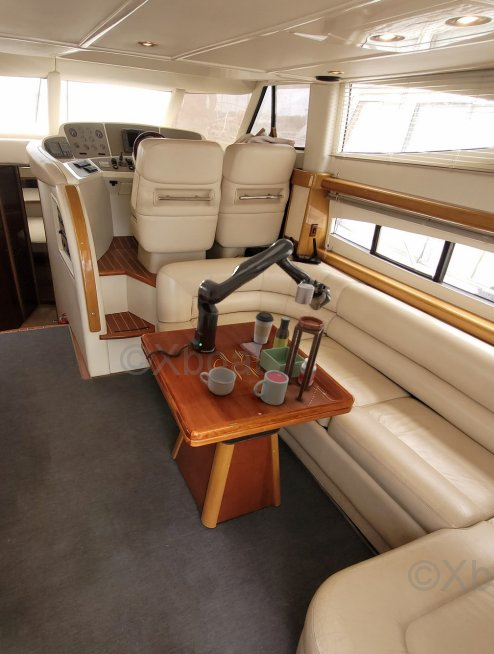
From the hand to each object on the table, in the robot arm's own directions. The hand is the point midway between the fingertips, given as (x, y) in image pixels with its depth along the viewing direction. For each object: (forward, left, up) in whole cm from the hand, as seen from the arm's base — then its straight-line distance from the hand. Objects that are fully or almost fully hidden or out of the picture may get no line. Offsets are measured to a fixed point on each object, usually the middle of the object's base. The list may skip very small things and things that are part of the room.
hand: (312, 281), depth 159 cm
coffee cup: (-1, +26, -40) cm, 48 cm away
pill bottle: (-4, -14, -40) cm, 43 cm away
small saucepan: (-3, -2, -6) cm, 7 cm away
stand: (-13, -18, -40) cm, 46 cm away
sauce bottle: (-2, +9, -40) cm, 41 cm away
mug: (-27, -20, -40) cm, 52 cm away
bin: (-8, -2, -40) cm, 41 cm away
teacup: (-44, -8, -40) cm, 60 cm away
